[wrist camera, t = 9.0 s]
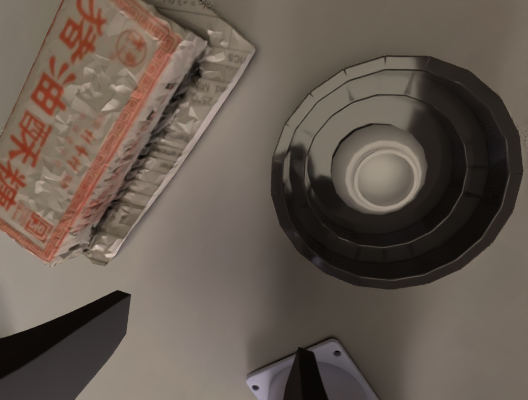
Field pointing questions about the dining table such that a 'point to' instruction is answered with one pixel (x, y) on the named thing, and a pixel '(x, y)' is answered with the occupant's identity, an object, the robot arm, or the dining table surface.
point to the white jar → (379, 169)
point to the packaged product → (110, 120)
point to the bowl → (436, 182)
